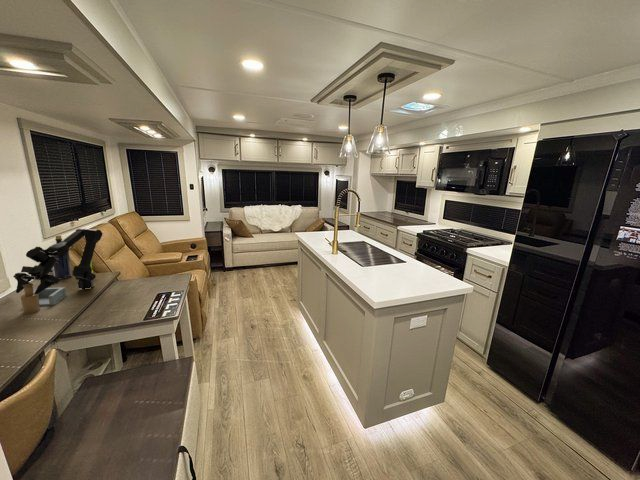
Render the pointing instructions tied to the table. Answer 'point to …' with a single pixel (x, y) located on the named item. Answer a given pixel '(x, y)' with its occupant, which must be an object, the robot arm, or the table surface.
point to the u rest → (51, 296)
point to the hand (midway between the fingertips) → (26, 293)
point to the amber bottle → (30, 300)
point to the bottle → (62, 263)
